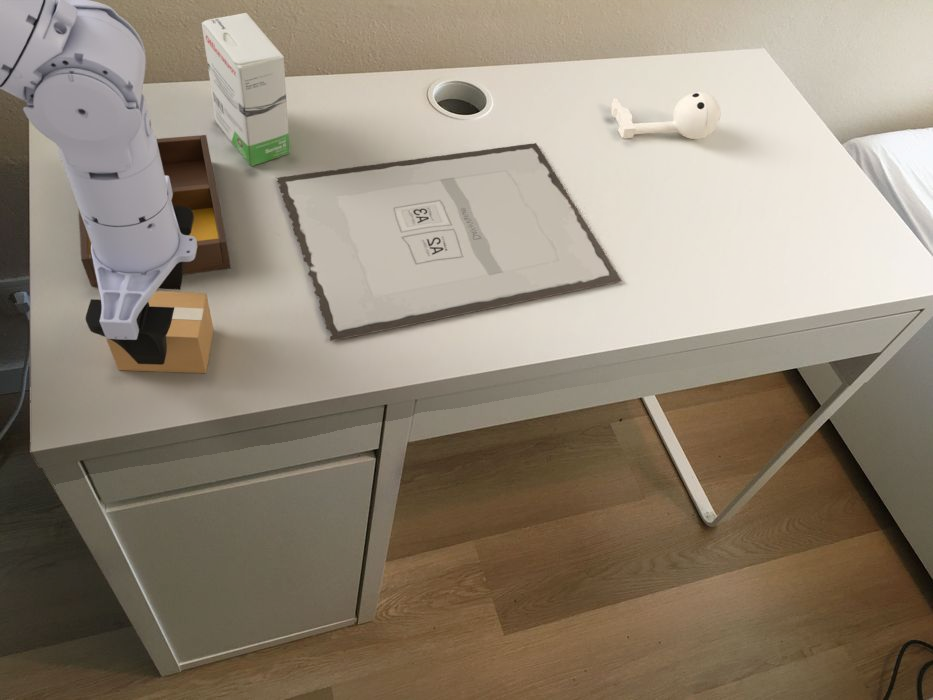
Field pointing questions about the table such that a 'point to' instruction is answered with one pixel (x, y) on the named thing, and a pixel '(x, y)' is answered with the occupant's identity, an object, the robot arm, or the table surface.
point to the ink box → (247, 87)
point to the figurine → (675, 118)
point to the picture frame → (439, 237)
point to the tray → (185, 204)
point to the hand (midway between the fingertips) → (160, 322)
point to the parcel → (177, 335)
